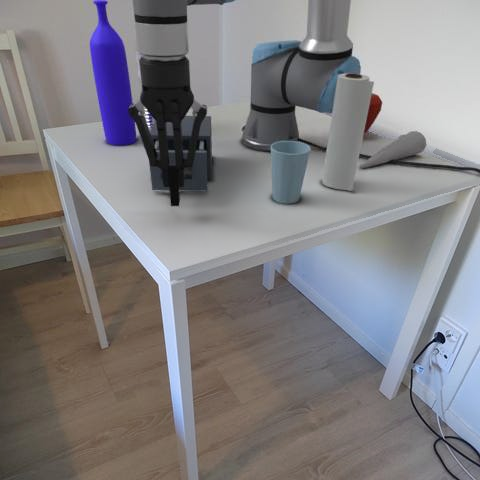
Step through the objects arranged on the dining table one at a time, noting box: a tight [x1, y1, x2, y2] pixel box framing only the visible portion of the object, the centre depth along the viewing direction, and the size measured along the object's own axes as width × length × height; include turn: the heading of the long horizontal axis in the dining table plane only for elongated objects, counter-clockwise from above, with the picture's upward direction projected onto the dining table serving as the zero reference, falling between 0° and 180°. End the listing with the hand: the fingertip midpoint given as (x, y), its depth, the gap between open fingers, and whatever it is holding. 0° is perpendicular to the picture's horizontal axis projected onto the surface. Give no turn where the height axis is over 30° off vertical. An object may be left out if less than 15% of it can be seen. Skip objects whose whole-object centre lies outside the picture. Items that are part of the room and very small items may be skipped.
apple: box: [363, 92, 383, 135], centre depth 118 cm, size 11×11×12 cm
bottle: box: [89, 0, 137, 146], centre depth 104 cm, size 8×8×30 cm
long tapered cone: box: [359, 130, 427, 169], centre depth 104 cm, size 6×6×19 cm
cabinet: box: [150, 115, 213, 182], centre depth 97 cm, size 15×13×10 cm
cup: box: [270, 141, 311, 205], centre depth 85 cm, size 8×8×10 cm
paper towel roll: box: [321, 73, 375, 192], centre depth 87 cm, size 7×6×21 cm
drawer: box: [148, 139, 209, 192], centre depth 89 cm, size 18×11×8 cm, turn 2°
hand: (175, 202), depth 79 cm, fingers closed
